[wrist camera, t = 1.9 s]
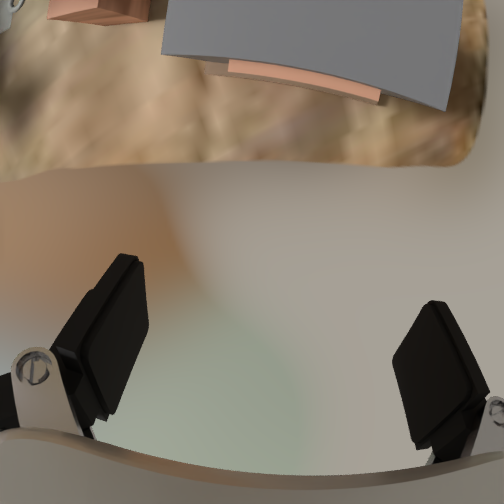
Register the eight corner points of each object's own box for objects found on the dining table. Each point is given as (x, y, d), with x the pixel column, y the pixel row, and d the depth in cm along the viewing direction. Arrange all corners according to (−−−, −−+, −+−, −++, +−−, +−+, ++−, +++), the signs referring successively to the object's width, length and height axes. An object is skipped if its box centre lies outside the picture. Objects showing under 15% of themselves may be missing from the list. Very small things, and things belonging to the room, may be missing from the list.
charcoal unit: (223, -28, 16) (180, -96, 6) (390, 5, 16) (473, -30, 6) (206, 74, 21) (147, 77, 11) (373, 104, 21) (448, 136, 11)
